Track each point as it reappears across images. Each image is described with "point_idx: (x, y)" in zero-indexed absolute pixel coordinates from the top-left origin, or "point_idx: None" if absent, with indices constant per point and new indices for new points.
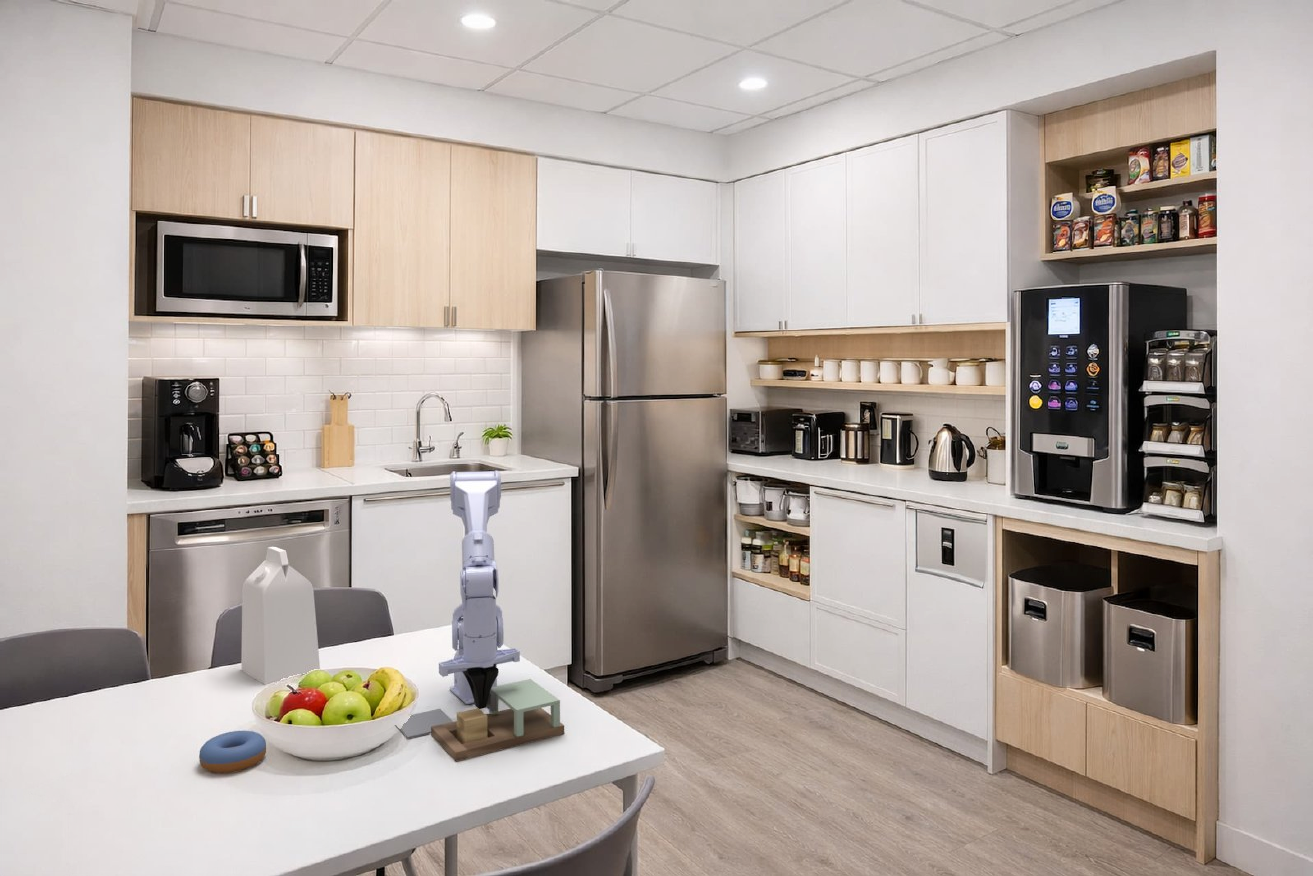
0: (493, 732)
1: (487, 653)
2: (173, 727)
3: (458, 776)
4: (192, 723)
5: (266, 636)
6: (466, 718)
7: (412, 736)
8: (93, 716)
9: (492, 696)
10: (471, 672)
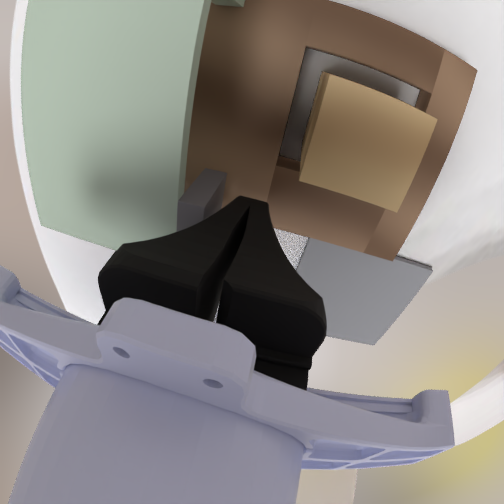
0: (291, 73)
1: (120, 471)
2: (468, 415)
3: (496, 12)
4: (458, 416)
5: (352, 485)
6: (415, 134)
7: (422, 267)
8: (459, 435)
9: (201, 201)
10: (286, 361)
